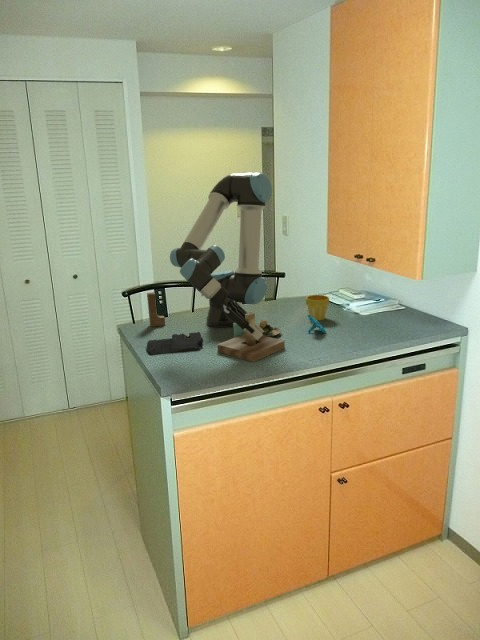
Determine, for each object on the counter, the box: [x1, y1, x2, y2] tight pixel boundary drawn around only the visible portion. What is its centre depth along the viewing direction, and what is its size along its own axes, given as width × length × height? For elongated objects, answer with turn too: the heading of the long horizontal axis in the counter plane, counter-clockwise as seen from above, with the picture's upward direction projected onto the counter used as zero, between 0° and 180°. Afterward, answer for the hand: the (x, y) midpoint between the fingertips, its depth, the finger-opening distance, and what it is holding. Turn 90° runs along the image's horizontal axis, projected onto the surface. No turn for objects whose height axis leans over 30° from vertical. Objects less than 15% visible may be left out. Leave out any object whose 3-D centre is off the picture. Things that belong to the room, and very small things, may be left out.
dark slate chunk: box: [146, 331, 204, 356], centre depth 202 cm, size 15×22×5 cm
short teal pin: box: [232, 323, 244, 338], centre depth 206 cm, size 4×4×7 cm
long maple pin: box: [245, 312, 256, 346], centre depth 193 cm, size 4×4×12 cm
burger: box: [258, 320, 282, 338], centre depth 211 cm, size 12×12×8 cm
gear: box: [307, 314, 327, 334], centre depth 212 cm, size 11×6×10 cm
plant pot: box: [305, 294, 330, 321], centre depth 230 cm, size 10×10×10 cm
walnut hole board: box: [216, 333, 286, 363], centre depth 195 cm, size 18×18×3 cm
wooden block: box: [146, 291, 166, 328], centre depth 230 cm, size 7×3×15 cm, turn 106°
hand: (260, 335), depth 193 cm, fingers closed on long maple pin, 3 cm apart
